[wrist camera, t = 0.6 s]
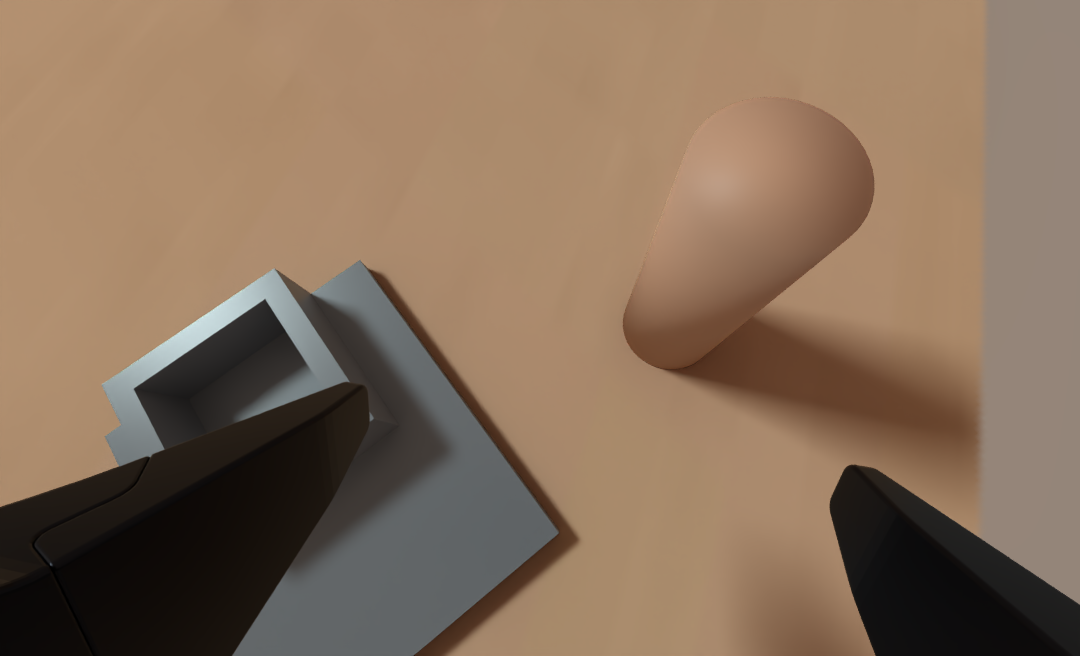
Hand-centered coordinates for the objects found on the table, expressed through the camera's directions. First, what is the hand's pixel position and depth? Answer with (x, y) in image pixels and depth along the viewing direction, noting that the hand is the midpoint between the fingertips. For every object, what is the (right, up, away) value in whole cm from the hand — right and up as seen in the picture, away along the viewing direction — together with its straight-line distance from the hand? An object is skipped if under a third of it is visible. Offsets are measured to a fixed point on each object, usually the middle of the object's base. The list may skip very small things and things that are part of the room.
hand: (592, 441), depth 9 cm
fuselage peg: (+5, +2, +14) cm, 15 cm away
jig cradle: (-11, -5, +13) cm, 18 cm away
